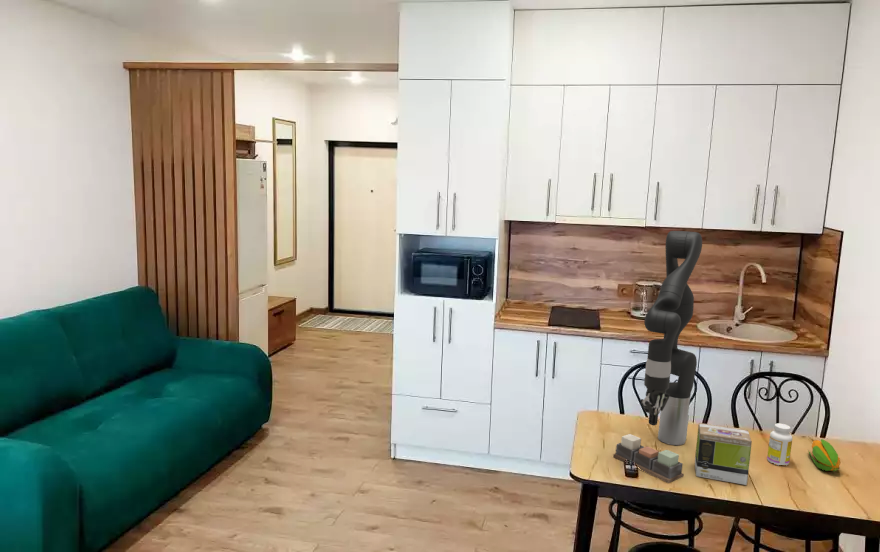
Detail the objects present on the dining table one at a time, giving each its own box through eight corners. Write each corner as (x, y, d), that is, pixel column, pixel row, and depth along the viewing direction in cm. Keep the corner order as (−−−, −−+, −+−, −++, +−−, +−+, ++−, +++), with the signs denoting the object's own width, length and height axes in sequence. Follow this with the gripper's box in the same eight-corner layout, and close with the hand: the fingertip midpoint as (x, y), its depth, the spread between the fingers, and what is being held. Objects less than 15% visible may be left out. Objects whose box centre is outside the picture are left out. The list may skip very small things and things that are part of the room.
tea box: (743, 472, 209) (749, 429, 206) (746, 486, 200) (753, 441, 197) (693, 463, 214) (698, 421, 211) (694, 476, 204) (700, 432, 202)
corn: (822, 452, 208) (804, 428, 228) (817, 474, 210) (800, 448, 229) (847, 457, 207) (827, 433, 226) (842, 479, 208) (823, 453, 227)
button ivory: (628, 445, 218) (630, 433, 217) (639, 449, 214) (641, 438, 214) (620, 448, 215) (621, 436, 214) (631, 453, 212) (632, 441, 211)
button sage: (665, 461, 207) (666, 449, 206) (677, 466, 203) (678, 454, 203) (657, 464, 204) (658, 452, 203) (669, 470, 201) (670, 458, 200)
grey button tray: (628, 451, 220) (629, 439, 220) (683, 476, 204) (684, 463, 203) (613, 457, 216) (614, 444, 215) (668, 483, 199) (670, 469, 198)
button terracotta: (646, 457, 213) (647, 446, 212) (657, 462, 209) (659, 451, 208) (637, 460, 210) (639, 449, 209) (649, 466, 206) (650, 454, 206)
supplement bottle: (784, 458, 220) (789, 423, 218) (791, 467, 214) (797, 431, 212) (763, 456, 221) (768, 421, 219) (770, 465, 215) (775, 428, 213)
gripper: (659, 365, 211) (654, 416, 214) (634, 373, 203) (630, 425, 206) (680, 372, 205) (675, 423, 208) (655, 380, 197) (650, 433, 200)
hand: (652, 424), depth 207 cm, fingers closed
